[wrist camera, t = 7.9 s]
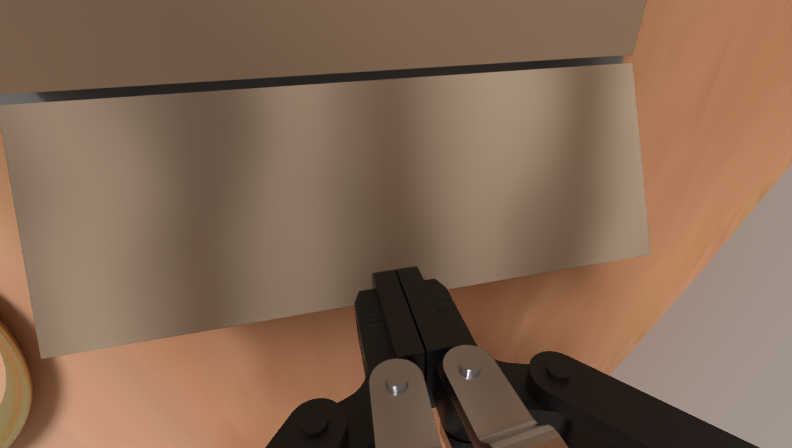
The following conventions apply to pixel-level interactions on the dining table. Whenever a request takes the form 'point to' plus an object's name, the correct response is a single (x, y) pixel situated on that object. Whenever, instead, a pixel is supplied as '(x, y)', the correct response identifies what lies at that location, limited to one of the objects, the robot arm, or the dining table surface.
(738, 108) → the dining table surface
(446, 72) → the panel
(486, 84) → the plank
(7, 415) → the serving platter
